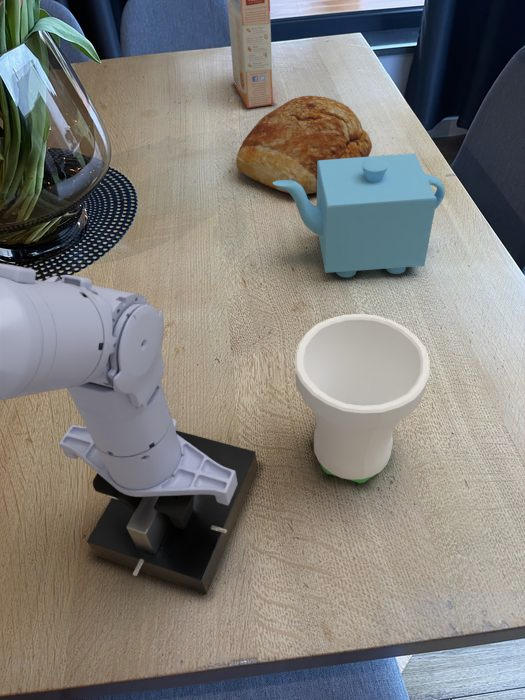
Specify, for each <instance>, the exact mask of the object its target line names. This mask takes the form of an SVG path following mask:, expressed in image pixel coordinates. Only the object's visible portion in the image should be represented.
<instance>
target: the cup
mask: <svg viewBox="0 0 525 700" xmlns="http://www.w3.org/2000/svg"><path fill="white" fill-rule="evenodd" d="M294 375H295V387H296V389H297V391H298V393H299V395H300V397H301V399H302V400H303V402H304V403H305V404H306V405H307V407H309V409H310V410H311V411H312V413H313V415H314V419H315V424H316V425H315V429H314V434H313V453H314V454H315V456H316V459H317V461H318V463H319V465H320V466H321V469H322V470H323V472H324V473H325V474H326V475H331V476H335V477H339V479H345V480H349V481H352V482H355V483H357V484H364V483H365V482H367V481H368V480H370V479H372V478H373V477H375V475H377V474H380V473H382V471H383V470H384V468H385V467H386V466H388V464H389V462H390V458H391V455H392V451H393V440H394V437H393V434H394V430H395V429H396V427H397V425H398V424H399V423H400V422H401V421H402V420H403V421H404V419H406V418H408V417H409V416H411V415H412V413H413V412H414V411H415V410H416V409H417V407H418V406H419V405H420V403H421V401H422V399H423V397H424V394H425V393H426V389H427V386H428V382H429V379H430V375H431V360H430V357H429V352H428V349H427V348H426V346H425V345H424V344H423V342H422V341H421V340H420V338H419V337H418V336H417V335H416V334H414V333H413V332H412V331H411V330H409V329H408V328H407V327H405V326H404V325H401V324H400V323H398V322H396V321H394V320H392V319H388V318H386V317H383V316H380V315H378V314H366V313H352V314H342V315H337V316H335V317H331V318H327V319H325V320H322V321H320V322H318V323H316V324H315V325H313V326H312V327H311V328H310V329H309V330H308V331H307V332H306V333H304V335H303V336H302V338H301V339H300V341H299V342H298V344H297V347H296V351H295V354H294Z"/></svg>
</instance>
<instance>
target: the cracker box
mask: <svg viewBox="0 0 525 700" xmlns="http://www.w3.org/2000/svg"><path fill="white" fill-rule="evenodd" d="M226 4H227V17H228V25H229V26H228V28H229V40H230V53H231V65H232V77H233V78H232V79H233V85H234V87H235V89H236V90H237V91H238V94H239V96H240V99H242V101H243V104H244V105H245V107H246V108H247V109H251V108H258V107H265V106H266V107H267V106H271V105H274V92H273V87H274V86H273V59H272V58H273V57H272V32H271V31H272V29H271V0H226ZM234 81H235V82H234ZM235 83H236V84H235Z"/></svg>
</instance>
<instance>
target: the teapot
mask: <svg viewBox="0 0 525 700" xmlns="http://www.w3.org/2000/svg"><path fill="white" fill-rule="evenodd" d="M273 185H275V186H277V187H280V188H282V189H284V190H286V191H287V192H289V193H288V194H290V196H291V197H292V198H293V201H294V204H295V205H296V208H297V211H298V214H299V216H300V219H301V221H302V223H303V224H304V226H305V227H306V228H307V229H308V231H311V232H312V233H314V234H317V236H318V240H319V247H320V251H321V257H322V262H323V268H324V273H325V274H327V273H336V275H338V276H339V277H340V278H351V277H354V276H355V275H356V274H357V272H358V271H368V270H369V271H370V270H384V269H385V270H386V272H388V273H390V274H392V275H393V274H394V275H399V274H403V273H405V271H406V269H407V268H412V267H414V268H415V267H424V266H425V264H426V258H427V254H428V249H429V243H430V238H431V237H430V236H431V232H432V227H433V221H434V217H435V212H436V209H438V207H439V206H440V205H441V203H442V202H443V200H444V198H445V193H446V189H445V186H444V183H443V181H441V179H440V178H439V177H437V176H436V175H433V174H430V173H429V174H428V173H426V174H425V171H424V169H423V167H422V165H421V163H420V160H419V158H418V156H417V154H416V153H402V154H388V155H387V154H386V155H371V156H370V155H369V156H368V157H357V158H344V159H331V160H319V161H318V162H317V193H316V205H315V204H313V203H311V201H310V200H309V198H308V194H306V193H305V191H304V189H303V187H302V186H301V185H300V184H298V183H297V182H295V181H291V180H279V181H275V182H273ZM432 186H433V187H434V188H436V190H435V192H434V190H433V188H432Z"/></svg>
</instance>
